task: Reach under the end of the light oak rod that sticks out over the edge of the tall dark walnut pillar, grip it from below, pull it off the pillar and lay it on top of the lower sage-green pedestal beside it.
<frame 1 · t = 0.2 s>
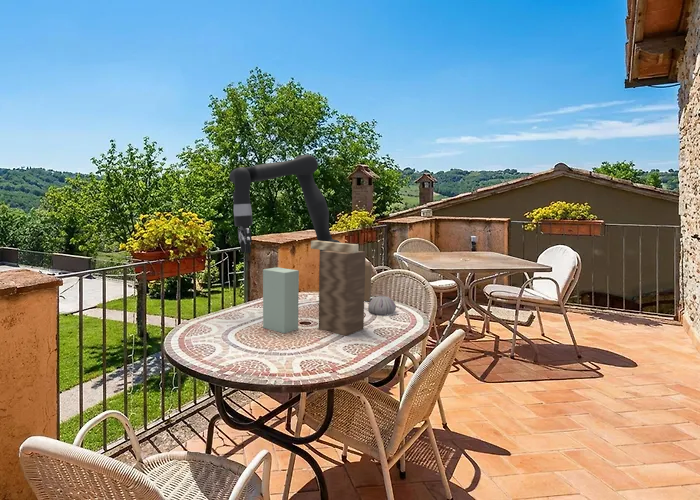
hand: (245, 252, 192), 29 cm above the table, tool pointing down, fingers open, 8 cm apart
oak rod: (333, 250, 180), point 32 cm above the table, touching walnut pillar
walnut pillar: (341, 329, 181), on the table
sea urchin shell: (381, 313, 210), on the table
sage pedestal: (280, 328, 180), on the table
wooden block: (360, 300, 236), on the table
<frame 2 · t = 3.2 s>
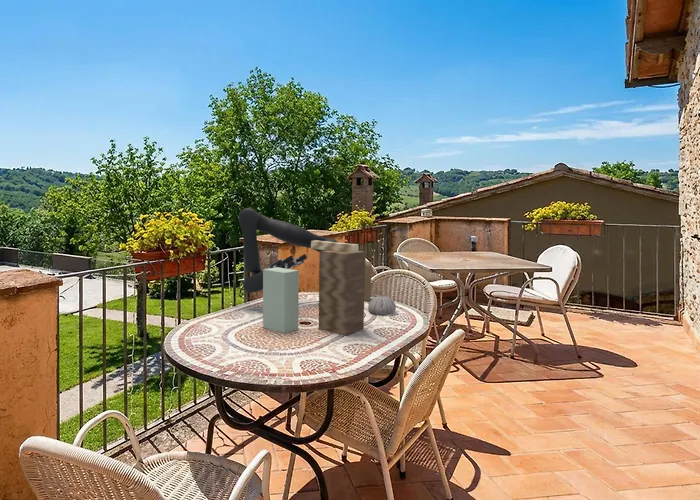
hand: (299, 256, 191), 28 cm above the table, tool pointing upward, fingers open, 8 cm apart
nothing on the table moved.
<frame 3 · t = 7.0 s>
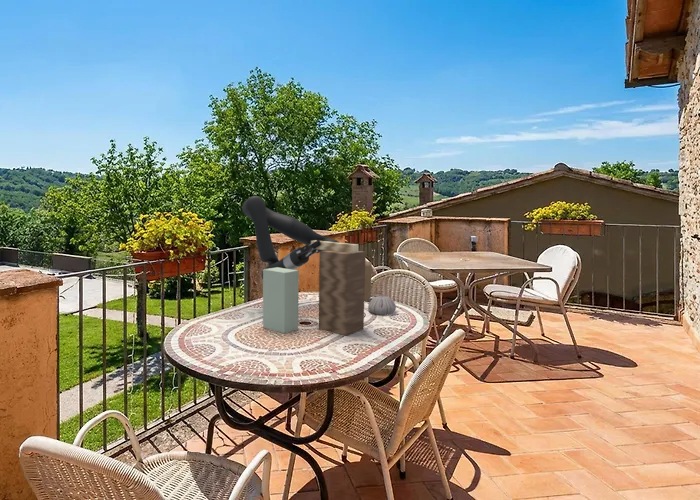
hand: (322, 241, 183), 35 cm above the table, tool pointing upward, fingers closed on oak rod, 3 cm apart
oak rod: (333, 250, 180), point 32 cm above the table, touching gripper, walnut pillar
everything else where it was.
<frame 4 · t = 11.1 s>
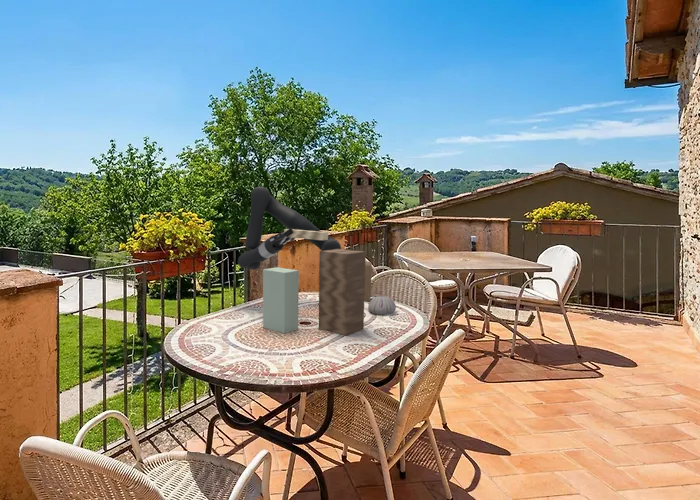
hand: (295, 230, 192), 39 cm above the table, tool pointing upward, fingers closed on oak rod, 3 cm apart
oak rod: (305, 238, 189), point 36 cm above the table, touching gripper
everything else where it was.
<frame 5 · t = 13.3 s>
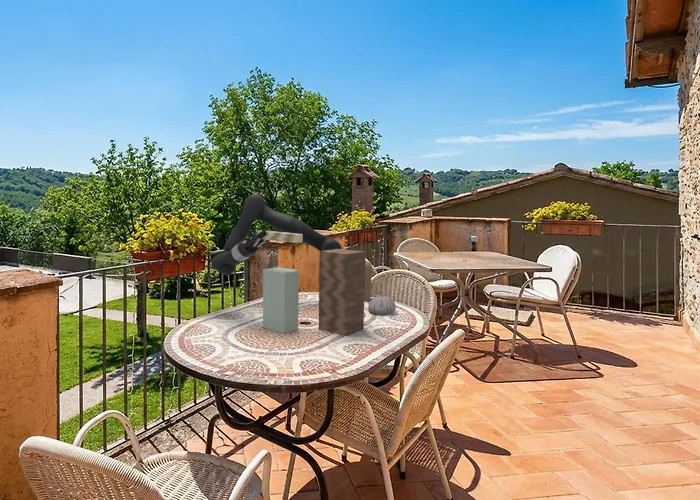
hand: (268, 231, 180), 39 cm above the table, tool pointing upward, fingers closed on oak rod, 3 cm apart
oak rod: (279, 240, 177), point 36 cm above the table, touching gripper
everything else where it was.
when the fingers open (28 cm above the table, at t = 15.5 s): oak rod drops 1 cm, resting on sage pedestal.
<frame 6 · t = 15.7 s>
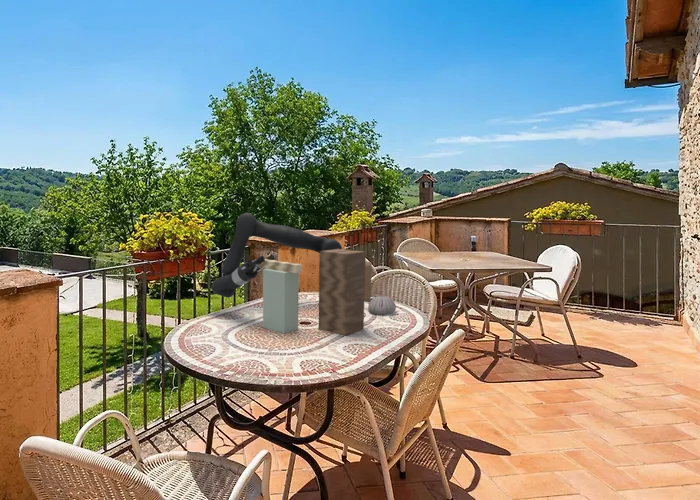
hand: (268, 257, 181), 28 cm above the table, tool pointing upward, fingers open, 4 cm apart
oak rod: (278, 269, 178), point 24 cm above the table, touching sage pedestal
everything else where it was.
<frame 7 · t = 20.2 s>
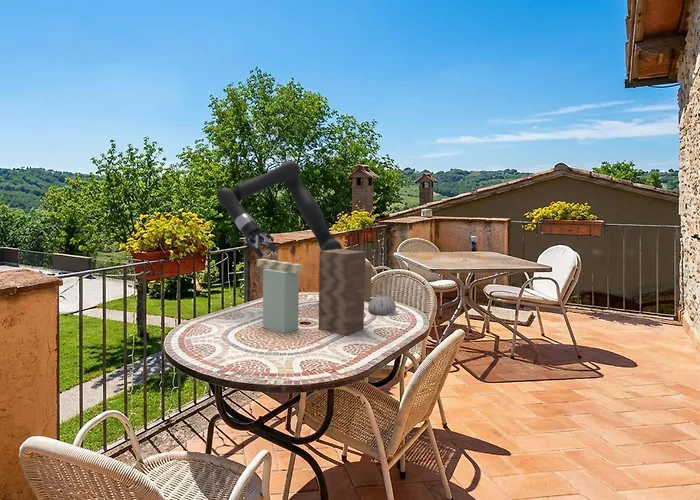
hand: (268, 253, 195), 28 cm above the table, tool tilted 40°, fingers open, 8 cm apart
nothing on the table moved.
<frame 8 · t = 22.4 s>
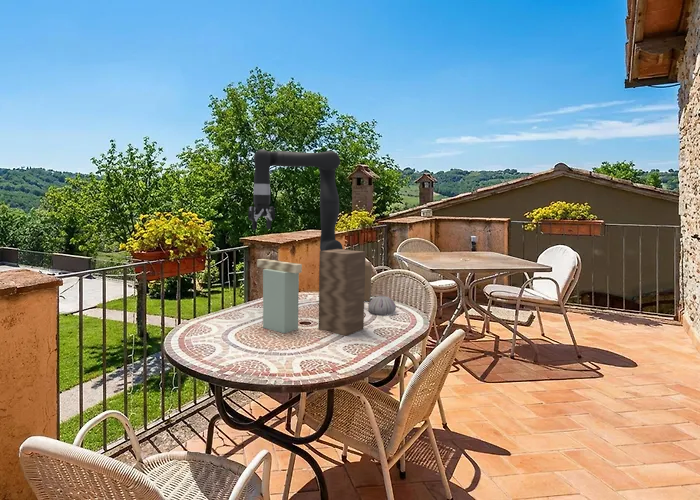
hand: (261, 229, 206), 38 cm above the table, tool pointing down, fingers open, 8 cm apart
nothing on the table moved.
at the end: oak rod inside the target area on the sage pedestal (1.1 cm from its centre), point 24.0 cm above the sage pedestal's base; oak rod touching sage pedestal; the gripper is holding nothing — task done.
